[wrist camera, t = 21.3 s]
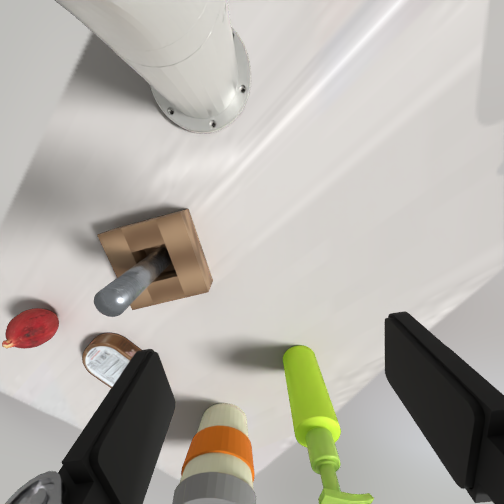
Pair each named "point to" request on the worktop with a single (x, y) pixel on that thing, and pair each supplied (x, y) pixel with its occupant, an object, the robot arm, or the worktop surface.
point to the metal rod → (131, 283)
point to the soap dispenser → (316, 423)
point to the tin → (108, 357)
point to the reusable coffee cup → (218, 461)
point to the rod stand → (179, 248)
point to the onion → (31, 328)
